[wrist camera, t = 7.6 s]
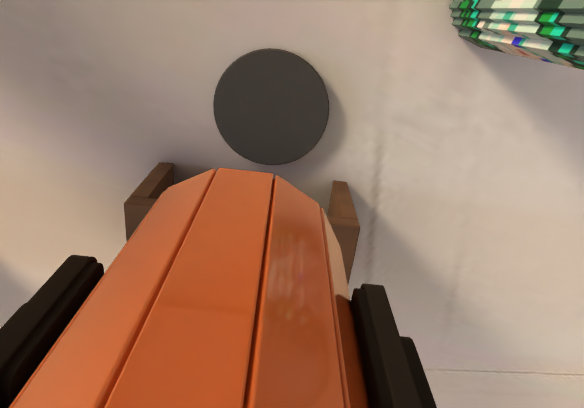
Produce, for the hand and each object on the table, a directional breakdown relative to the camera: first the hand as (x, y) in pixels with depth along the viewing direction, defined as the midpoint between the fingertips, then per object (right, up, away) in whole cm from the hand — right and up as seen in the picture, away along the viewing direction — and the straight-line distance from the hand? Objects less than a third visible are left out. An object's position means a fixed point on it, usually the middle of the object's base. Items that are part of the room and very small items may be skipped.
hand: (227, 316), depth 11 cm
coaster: (0, +11, +21) cm, 24 cm away
